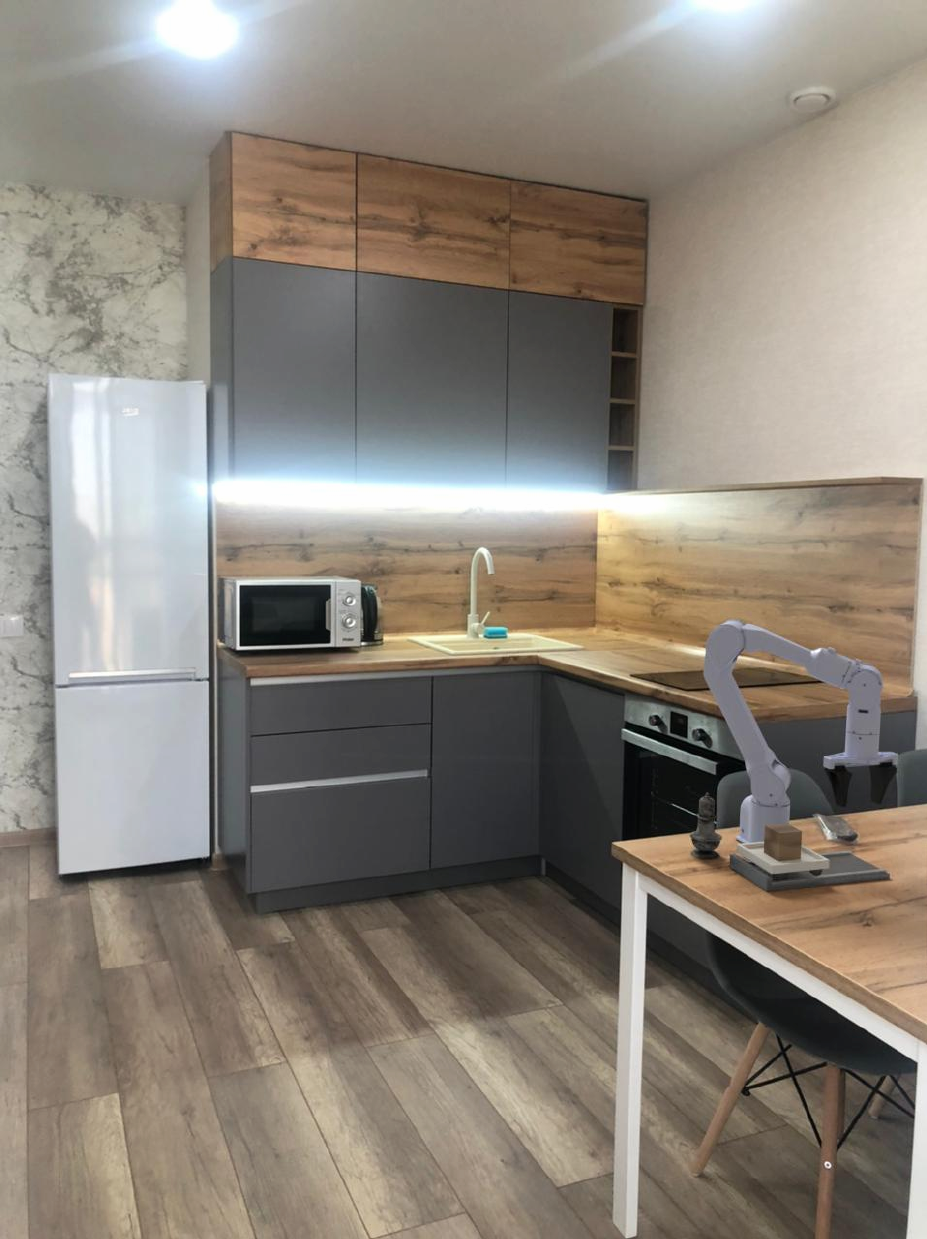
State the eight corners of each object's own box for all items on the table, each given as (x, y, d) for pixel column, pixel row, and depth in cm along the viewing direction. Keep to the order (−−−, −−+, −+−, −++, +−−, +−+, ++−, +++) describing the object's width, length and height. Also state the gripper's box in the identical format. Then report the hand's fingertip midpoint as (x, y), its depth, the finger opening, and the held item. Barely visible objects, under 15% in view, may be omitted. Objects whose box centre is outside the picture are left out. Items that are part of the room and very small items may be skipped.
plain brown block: (763, 852, 178) (764, 825, 177) (786, 850, 179) (787, 823, 178) (778, 861, 174) (779, 833, 173) (800, 859, 175) (802, 831, 174)
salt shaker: (698, 861, 184) (700, 797, 182) (683, 850, 189) (685, 788, 188) (727, 858, 185) (729, 795, 184) (711, 848, 191) (713, 786, 189)
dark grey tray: (729, 867, 181) (729, 854, 180) (846, 855, 187) (847, 843, 187) (766, 891, 169) (767, 878, 169) (889, 878, 176) (890, 865, 176)
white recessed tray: (736, 859, 180) (737, 844, 180) (790, 854, 183) (791, 839, 183) (771, 881, 170) (772, 865, 169) (828, 875, 173) (829, 860, 172)
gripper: (842, 738, 177) (838, 813, 179) (911, 734, 181) (907, 807, 182) (817, 730, 184) (814, 802, 185) (885, 726, 188) (881, 796, 189)
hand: (858, 804), depth 184 cm, fingers open, 7 cm apart
